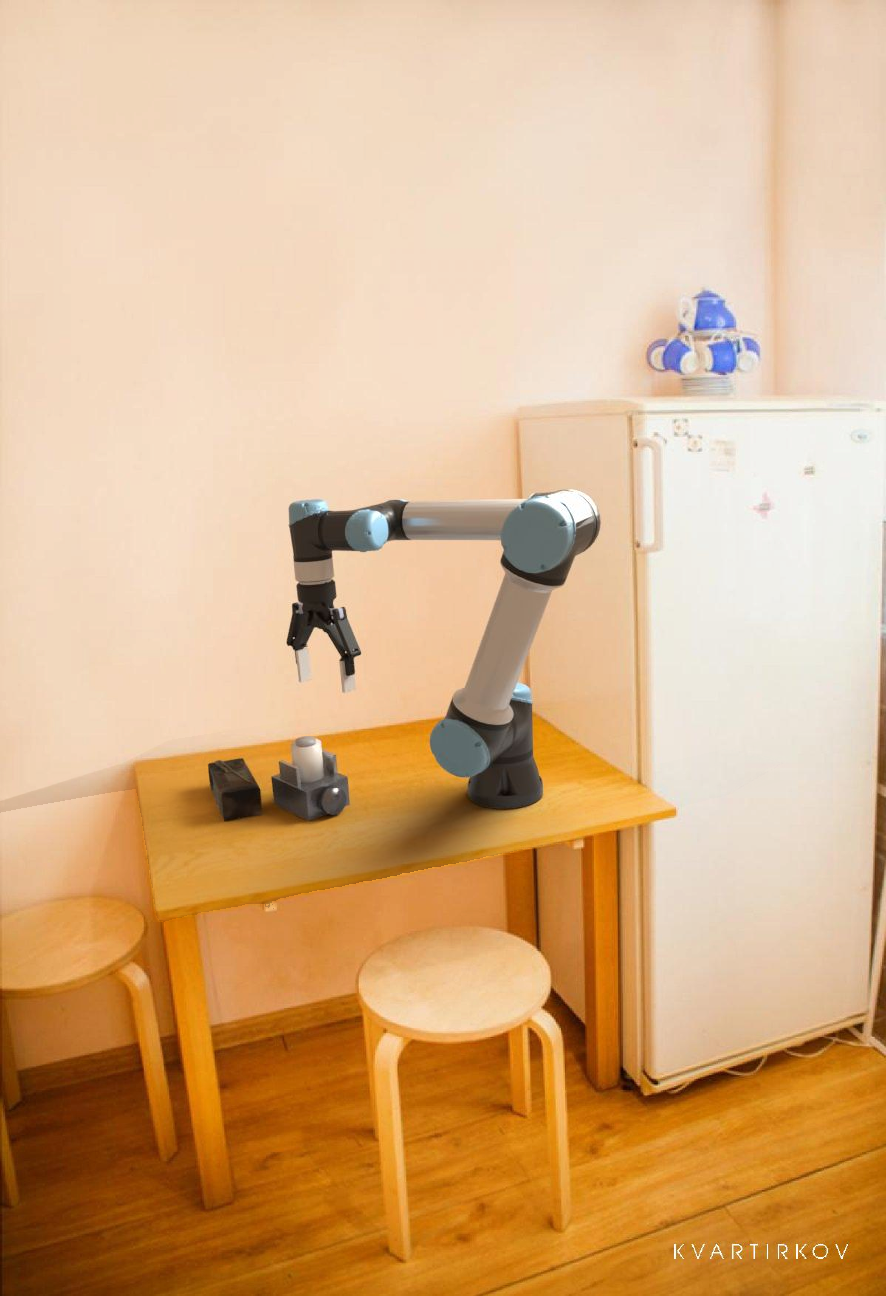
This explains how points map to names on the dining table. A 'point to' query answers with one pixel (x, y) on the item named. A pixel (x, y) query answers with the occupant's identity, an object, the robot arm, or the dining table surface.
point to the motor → (311, 790)
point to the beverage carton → (234, 789)
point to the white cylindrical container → (308, 758)
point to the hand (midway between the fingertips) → (326, 685)
